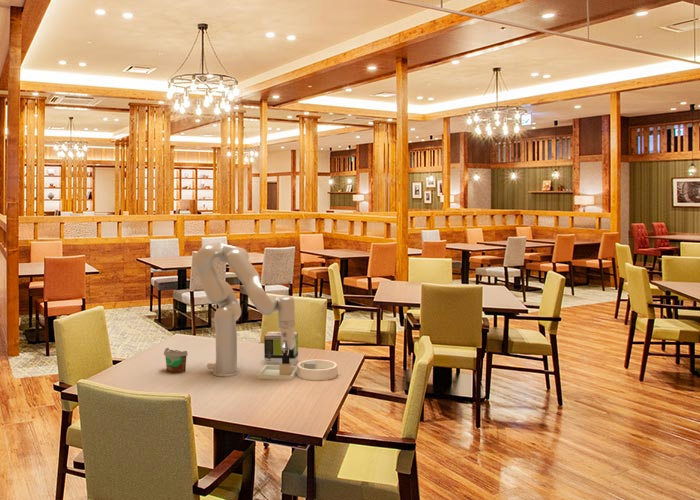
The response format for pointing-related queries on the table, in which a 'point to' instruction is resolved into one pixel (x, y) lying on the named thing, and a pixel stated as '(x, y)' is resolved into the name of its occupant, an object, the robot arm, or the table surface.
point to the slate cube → (310, 365)
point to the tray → (275, 373)
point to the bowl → (318, 370)
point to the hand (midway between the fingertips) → (288, 360)
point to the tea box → (277, 349)
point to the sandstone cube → (286, 369)
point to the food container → (175, 360)
